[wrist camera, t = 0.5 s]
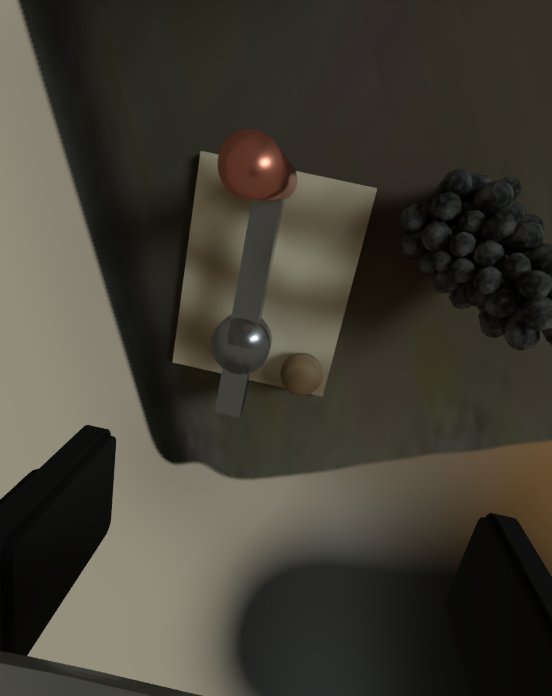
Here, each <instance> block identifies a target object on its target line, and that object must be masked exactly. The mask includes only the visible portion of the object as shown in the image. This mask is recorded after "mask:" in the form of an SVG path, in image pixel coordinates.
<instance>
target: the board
mask: <svg viewBox="0 0 552 696" xmlns="http://www.w3.org/2000/svg"><path fill="white" fill-rule="evenodd" d="M217 162H218V154H213V153H208V152H203V151H201V152H200V159H199V167H198V174H197V182H196V189H195V197H194V204H193V212H192V219H191V227H190V234H189V242H188V249H187V257H186V265H185V272H184V280H183V287H182V295H181V302H180V310H179V317H178V325H177V332H176V340H175V347H174V355H173V363H178V364H182V365H187V366H191V367H195V368H200V369H204V370H208V371H213V372H217V373H221V374H222V367H221V366H220V365H219V364H218V363H217V362H216V360H215V358H214V356H213V354H212V351H211V339H212V335H213V333H214V331H215V330H216V328H217V327H218V326H219V325H220V323H221V322H222V321H223V320H224V319H225V318H226V317H228V316H229V315H231V314H232V311H233V305H234V299H235V293H236V288H237V282H238V276H239V271H240V265H241V259H242V253H243V248H244V242H245V236H246V231H247V225H248V219H249V213H250V208H251V202H252V200H247V199H242V198H239V197H237V196H235V195H233V194H232V193H231V192H229V191H228V190H227V189H226V187H225V186H224V185H223V183H222V181H221V179H220V176H219V173H218V165H217ZM296 174H297V186H296V189H295V191H294V193H293V194H292V195H291V196H290V197H289V198H288V199H286V200H285V201H284V206H283V211H282V217H281V222H280V227H279V232H278V237H277V242H276V247H275V252H274V257H273V262H272V267H271V272H270V277H269V282H268V287H267V292H266V297H265V302H264V307H263V312H262V317H261V318H262V319H263V320H264V321H265V322H266V324H267V325H268V327H269V329H270V331H271V335H272V345H271V349H270V351H269V354H268V357H267V359H266V361H265V363H264V364H263V365H262V366H261V367H260V368H259V369H258V370H256V371H254V372H252V373H250V378H249V380H252V381H256V382H261V383H265V384H269V385H274V386H278V387H283V388H285V387H284V385H283V384H282V381H281V377H280V371H281V367H282V365H283V363H284V361H285V360H286V359H287V358H288V357H289V356H291V355H293V354H296V353H307V354H310V355H312V356H314V357H315V358H316V359H317V360H318V361H319V363H320V364H321V367H322V371H323V377H322V381H321V384H320V385H319V387H318V388H317V389H316V390H315V391H314V392H312V393H310V394H313V395H317V396H322V397H323V393H324V389H325V385H326V382H327V378H328V374H329V370H330V366H331V363H332V359H333V355H334V351H335V347H336V344H337V340H338V336H339V332H340V328H341V325H342V321H343V317H344V313H345V309H346V306H347V302H348V298H349V294H350V290H351V286H352V283H353V279H354V275H355V271H356V267H357V264H358V260H359V256H360V252H361V248H362V245H363V241H364V237H365V233H366V229H367V226H368V222H369V218H370V214H371V210H372V207H373V203H374V199H375V195H376V191H377V188H373V187H368V186H363V185H358V184H354V183H349V182H344V181H340V180H335V179H330V178H326V177H321V176H316V175H311V174H307V173H302V172H297V171H296Z"/></svg>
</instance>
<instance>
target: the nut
mask: <svg viewBox="0 0 552 696" xmlns="http://www.w3.org/2000/svg"><path fill="white" fill-rule="evenodd" d="M280 377H281V381H282V384H283V385H284V387H285V388H286V389H287V390H288V391H289V392H291V393H293V394H296V395H307V394H310V393H312V392H314V391H315V390H316V389H317V388H318V387H319V385H320V384H321V381H322V377H323V371H322V367H321V364H320V363H319V361H318V360H317V359H316V358H315V357H314V356H312V355H310V354H307V353H296V354H293V355H291V356H289V357H288V358H287V359H286V360H285V361H284V363H283V365H282V367H281V371H280Z"/></svg>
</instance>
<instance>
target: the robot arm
mask: <svg viewBox="0 0 552 696" xmlns="http://www.w3.org/2000/svg"><path fill="white" fill-rule="evenodd" d="M115 451H116V438H115V437H113V436H111V433H110V431H109V430H108V429H104V428H99V427H94V426H90V425H86V426H84V427H83V428H82V429H81V430H80V431H79V432H78V433H77V434H75V435H74V436H73V437H72V438H71V439H70V440H69V441H68V442H67V443H66V444H65V445H64V446H63V447H62V448H61V449H60V450H58V451H57V452H56V453H55V455H53V456H52V457H51V458H50V459H49V460H48V461H47V462H46V463H45V464H44V465H43V466H42V467H40V468H39V469H36V470H33V471H32V472H30V473H29V474H28V475H27V476H25V477H24V478H23V479H22V480H21V481H20V482H19V483H18V484H17V485H16V486H15V487H14V488H13V489H12V490H11V491H9V492H8V493H7V494H6V495H5V496H4V497H3V498H2V499H1V500H0V696H201V695H197V694H192V693H188V692H183V691H179V690H175V689H171V688H167V687H162V686H158V685H154V684H150V683H145V682H141V681H137V680H132V679H128V678H124V677H120V676H115V675H111V674H107V673H103V672H98V671H94V670H89V669H85V668H80V667H76V666H70V665H66V664H61V663H57V662H51V661H47V660H43V659H38V658H33V657H29V656H27V655H28V653H29V652H30V650H31V649H32V647H33V646H34V644H35V643H36V641H37V639H38V638H39V637H40V635H41V633H42V632H43V630H44V629H45V627H46V626H47V624H48V623H49V621H50V620H51V618H52V616H53V615H54V613H55V612H56V611H57V609H58V607H59V606H60V604H61V603H62V601H63V599H64V598H65V597H66V595H67V593H68V592H69V591H70V589H71V587H72V586H73V584H74V583H75V581H76V580H77V578H78V577H79V575H80V574H81V572H82V571H83V569H84V567H85V566H86V564H87V563H88V561H89V560H90V558H91V557H92V555H93V554H94V552H95V551H96V549H97V548H98V546H99V545H100V543H101V541H102V540H103V538H104V537H105V535H106V534H107V531H108V529H109V526H110V522H111V511H112V496H113V481H114V466H115ZM445 608H446V614H447V618H448V621H449V624H450V627H451V631H452V635H453V638H454V641H455V645H456V648H457V651H458V655H459V658H460V661H461V665H462V668H463V671H464V675H465V678H466V682H467V685H468V688H469V692H470V695H471V696H552V577H551V576H550V573H549V572H548V570H547V569H546V567H545V565H544V563H543V562H542V560H541V558H540V557H539V555H538V554H537V552H536V550H535V549H534V547H533V545H532V544H531V542H530V540H529V539H528V537H527V535H526V534H525V532H524V530H523V529H522V527H521V525H520V524H519V522H518V521H517V520H516V519H515V518H512V517H507V516H502V515H498V514H493V513H489V514H488V515H487V516H486V518H484V517H482V518H480V519H479V520H478V522H477V525H476V527H475V529H474V532H473V534H472V536H471V539H470V541H469V543H468V546H467V548H466V551H465V553H464V555H463V558H462V560H461V563H460V565H459V568H458V570H457V572H456V575H455V577H454V579H453V582H452V584H451V586H450V589H449V591H448V594H447V596H446V601H445Z"/></svg>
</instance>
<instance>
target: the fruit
mask: <svg viewBox="0 0 552 696" xmlns="http://www.w3.org/2000/svg"><path fill="white" fill-rule="evenodd" d="M520 193H521V186H520V182H519V180H517V179H516V178H514V177H505V178H503V179H501V180H499V181H494V182H491V180H490V179H489V178H488V177H487V176H485V175H478V174H476V173H475V174H471V175H470V174H469V173H468V172H466V171H465V170H464V169H456V170H453V171H451V172H448V174H447V175H446V176H445V177H444V179H443V180H442V181H441V183H440V185H439V187H438V189H437V194H438V196H436V197H435V198H433V199H432V200H431V202H430V204H429V203H427V202H416V203H414V204H412V205H410V206H409V207H407V208H405V210H404V211H403V212H402V214H401V217H400V223H401V225H402V228H403V229H402V233H401V241H402V244H401V251H402V252H403V253H404V255H406V256H407V257H408V258H409V259H417V258H419V261H418V265H419V269H420V272H421V273H424V274H426V275H428V276H430V277H431V276H433V275H435V276H434V278H433V280H432V286H433V287H434V289H435V290H436V291H437V292H438V293H448V292H450V295H449V299H450V300H451V302H452V304H453V306H454V307H457V308H459V309H465V308H468V307H470V306H477V308H478V309H479V310H480V311H481V312H480V314H479V320H480V326H481V332H483V333H484V334H485V335H487V336H488V337H494V338H497V337H500V336H502V335H504V334H505V340H506V341H507V342H508V344H509V345H510V346H511V347H512V348H515V349H517V350H525V349H529V348H532V347H534V346H535V345H536V343H537V342H538V341H539V339H540V334H539V331H542V332H543V334H544V336H545V338H546V340H547V341H548V342H549V343H550V344H551V345H552V244H545V243H543V242H542V241H543V239H544V236H545V235H544V225H543V220H542V219H541V218H539V217H538V216H536V215H533V214H528V215H526V210H525V208H524V206H523V205H522V204H521V203H519V202H516V201H514V200H515V199H516V198H517V197H518V196H519V195H520ZM431 218H432V219H433V220H434V221H432V220H431ZM506 255H507V256H508V257H506V258H505V256H506Z"/></svg>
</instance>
